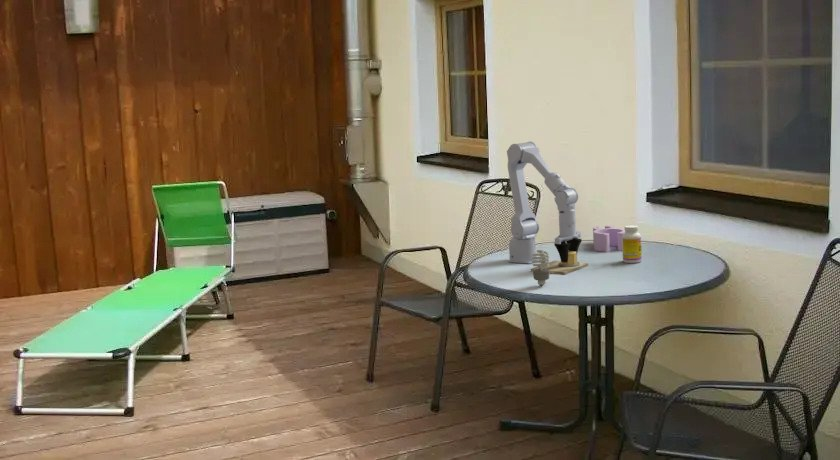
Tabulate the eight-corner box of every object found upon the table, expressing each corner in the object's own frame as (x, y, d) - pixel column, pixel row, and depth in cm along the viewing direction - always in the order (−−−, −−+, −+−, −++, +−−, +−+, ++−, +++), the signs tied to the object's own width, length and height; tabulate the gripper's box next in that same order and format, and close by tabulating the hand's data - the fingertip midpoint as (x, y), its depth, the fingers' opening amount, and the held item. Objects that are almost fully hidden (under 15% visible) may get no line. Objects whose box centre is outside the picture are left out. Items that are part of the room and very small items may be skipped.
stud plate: (530, 271, 341) (530, 261, 340) (554, 262, 353) (554, 253, 352) (565, 274, 332) (564, 264, 331) (588, 265, 344) (588, 256, 343)
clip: (586, 244, 386) (585, 227, 384) (617, 242, 386) (616, 225, 385) (599, 253, 366) (598, 235, 365) (631, 250, 367) (631, 232, 366)
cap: (558, 264, 343) (558, 253, 342) (566, 261, 347) (565, 250, 346) (571, 265, 339) (571, 254, 339) (579, 262, 344) (579, 251, 343)
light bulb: (531, 284, 320) (530, 249, 318) (548, 283, 320) (546, 247, 318) (535, 288, 314) (533, 252, 312) (552, 287, 315) (550, 250, 313)
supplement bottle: (641, 263, 342) (641, 227, 340) (622, 263, 344) (621, 228, 341) (641, 259, 349) (640, 224, 347) (622, 260, 350) (621, 225, 348)
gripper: (566, 226, 333) (567, 265, 335) (587, 220, 344) (588, 257, 346) (548, 225, 337) (550, 263, 340) (570, 219, 348) (571, 256, 350)
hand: (568, 260), depth 343 cm, fingers closed on cap, 5 cm apart
